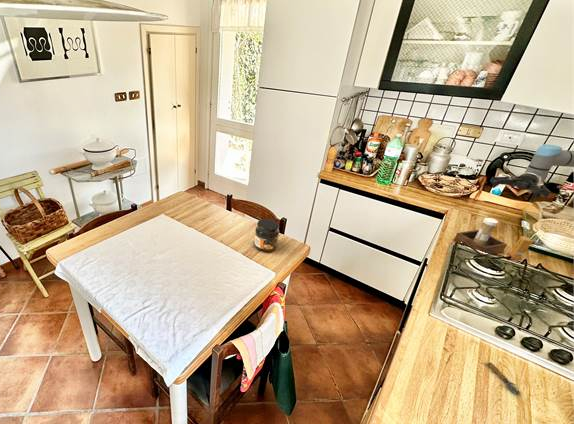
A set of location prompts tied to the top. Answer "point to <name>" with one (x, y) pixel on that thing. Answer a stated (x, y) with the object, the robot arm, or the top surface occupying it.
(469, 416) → the top surface
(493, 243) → the holder
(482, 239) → the sprinkles bottle
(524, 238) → the supplement box
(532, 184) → the robot arm
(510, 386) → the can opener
